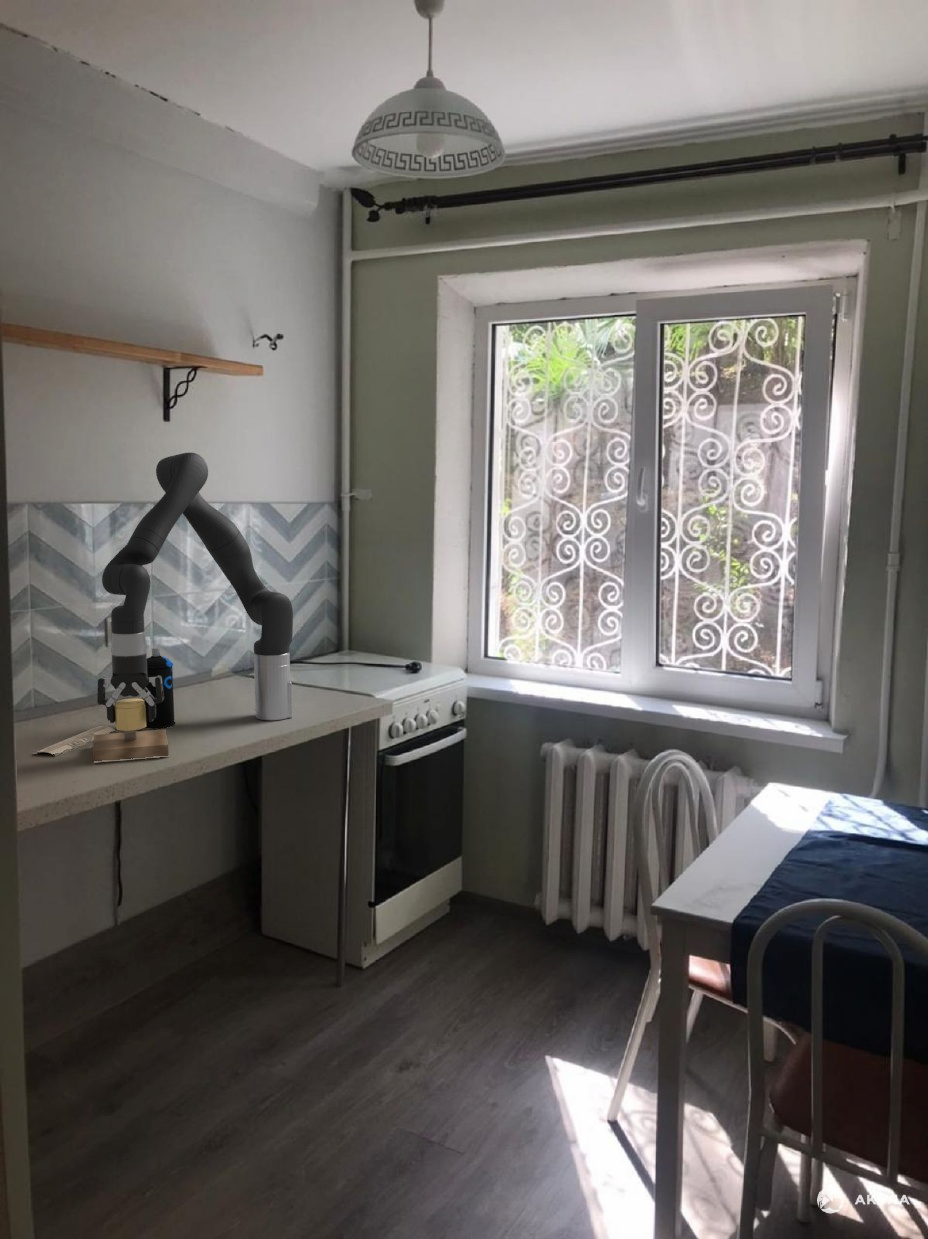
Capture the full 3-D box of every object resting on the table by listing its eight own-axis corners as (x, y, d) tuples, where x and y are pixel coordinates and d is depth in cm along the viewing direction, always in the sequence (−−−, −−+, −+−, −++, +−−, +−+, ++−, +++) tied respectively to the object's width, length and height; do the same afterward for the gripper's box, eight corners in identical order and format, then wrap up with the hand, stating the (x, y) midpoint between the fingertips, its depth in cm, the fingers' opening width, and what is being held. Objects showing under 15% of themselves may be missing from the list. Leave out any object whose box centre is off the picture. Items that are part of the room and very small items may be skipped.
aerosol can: (141, 730, 249) (137, 651, 246) (142, 722, 257) (139, 645, 254) (175, 728, 251) (172, 650, 249) (175, 720, 259) (172, 644, 256)
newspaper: (94, 732, 250) (93, 725, 250) (119, 734, 248) (118, 727, 248) (32, 758, 227) (32, 750, 227) (59, 760, 225) (59, 752, 225)
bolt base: (165, 741, 239) (164, 696, 237) (168, 757, 226) (166, 710, 224) (94, 747, 234) (92, 701, 232) (93, 763, 220) (90, 715, 219)
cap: (151, 724, 231) (149, 699, 230) (135, 731, 225) (133, 705, 224) (126, 722, 232) (125, 697, 232) (110, 729, 226) (108, 703, 226)
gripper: (164, 648, 230) (166, 716, 233) (100, 649, 228) (103, 718, 231) (158, 654, 223) (161, 724, 225) (92, 655, 221) (95, 726, 223)
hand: (131, 721), depth 228 cm, fingers open, 8 cm apart
